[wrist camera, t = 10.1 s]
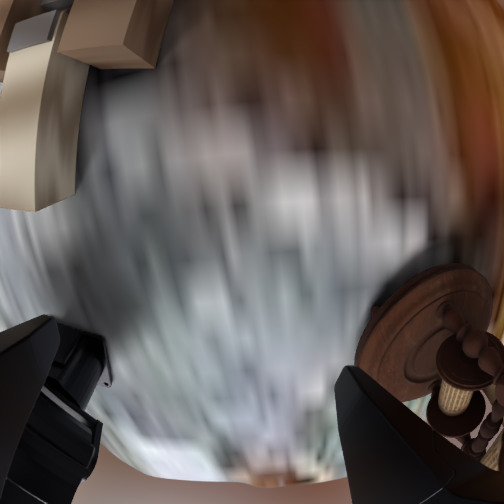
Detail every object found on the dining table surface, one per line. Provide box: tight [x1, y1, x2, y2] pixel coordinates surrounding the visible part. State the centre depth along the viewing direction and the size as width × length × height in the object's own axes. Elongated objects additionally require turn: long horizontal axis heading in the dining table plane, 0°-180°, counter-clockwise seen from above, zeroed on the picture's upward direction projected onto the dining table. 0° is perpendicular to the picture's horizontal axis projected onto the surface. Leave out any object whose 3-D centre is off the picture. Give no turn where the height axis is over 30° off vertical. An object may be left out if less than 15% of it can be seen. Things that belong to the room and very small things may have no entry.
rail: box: [0, 9, 90, 212], centre depth 13 cm, size 12×4×6 cm, turn 171°
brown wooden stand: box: [354, 263, 504, 471], centre depth 14 cm, size 15×15×20 cm
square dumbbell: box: [0, 0, 174, 82], centre depth 10 cm, size 7×14×6 cm, turn 80°
